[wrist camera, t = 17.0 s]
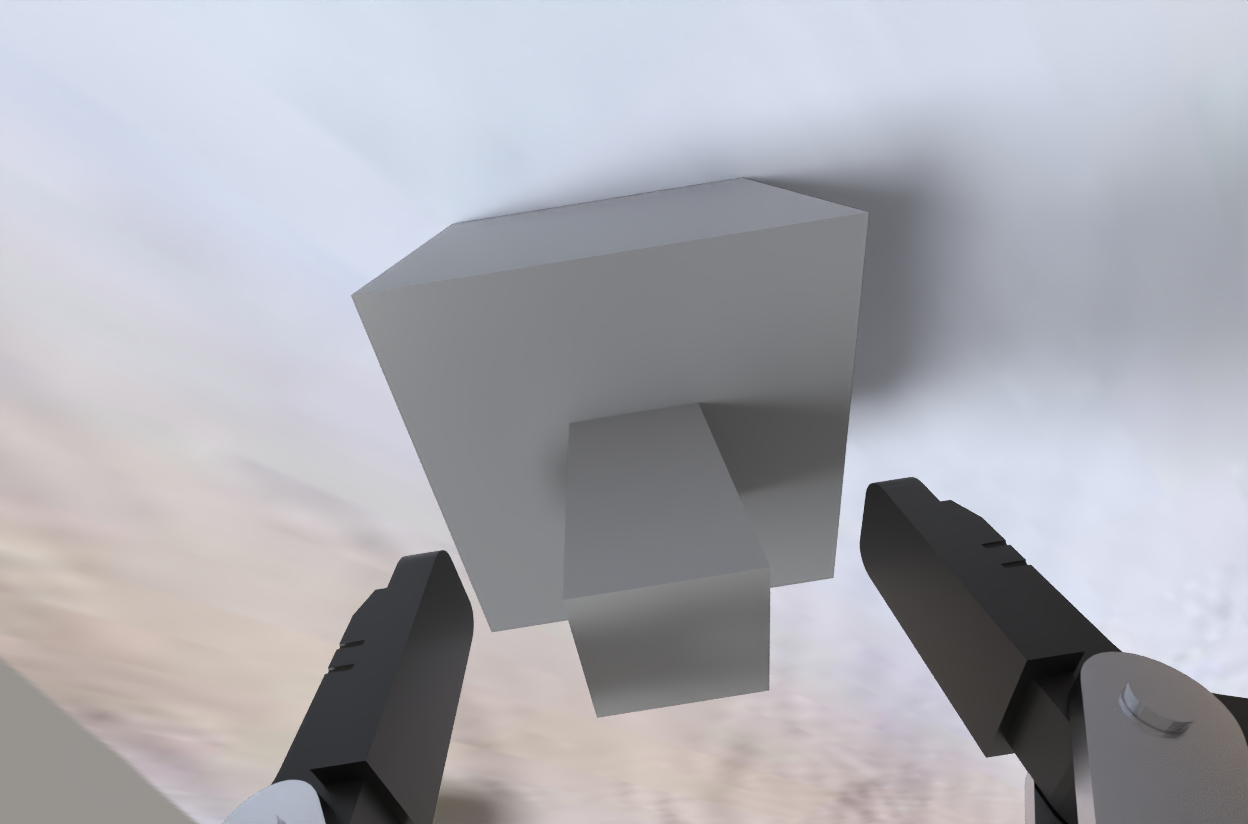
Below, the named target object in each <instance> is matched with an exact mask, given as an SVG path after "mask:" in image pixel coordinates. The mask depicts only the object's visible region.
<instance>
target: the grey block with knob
mask: <svg viewBox="0 0 1248 824" xmlns="http://www.w3.org/2000/svg"><path fill="white" fill-rule="evenodd" d="M868 218H869V212H866V211H863V210H859V209H855V208H852V207H848V206H844V205H841V204H837V203H833V202H830V201H826V200H822V199H819V198H815V197H811V196H808V195H804V194H800V193H797V192H793V191H789V190H785V189H782V188H778V187H774V186H771V185H767V184H763V183H760V182H756V181H752V180H749V179H745V178H736V179H729V180H723V181H717V182H711V183H705V184H698V185H692V186H686V187H680V188H674V189H667V190H661V191H655V192H649V193H642V194H636V195H630V196H624V197H618V198H611V199H605V200H599V201H593V202H586V203H580V204H574V205H568V206H562V207H555V208H549V209H543V210H537V211H530V212H524V213H518V214H512V215H506V216H499V217H493V218H487V219H481V220H475V221H468V222H462V223H456V224H452V225H450V226H449V227H447V228H446V229H445V230H443V231H442V232H440V233H439V234H437V235H436V236H435V237H433V238H432V239H430V240H429V241H427V242H426V243H425V244H423V245H422V246H420V247H419V248H418V249H416V250H415V251H413V252H412V253H410V254H409V255H408V256H406V257H405V258H403V259H402V260H401V261H399V262H398V263H396V264H395V265H393V266H392V267H391V268H389V269H388V270H386V271H385V272H384V273H382V274H381V275H379V276H378V277H376V278H375V279H374V280H372V281H371V282H369V283H368V284H367V285H365V286H364V287H362V288H361V289H359V290H358V291H357V292H355V293H354V294H352V295H351V297H352V299H353V301H354V304H355V306H356V309H357V311H358V313H359V316H360V318H361V320H362V323H363V325H364V328H365V330H366V332H367V335H368V337H369V340H370V342H371V344H372V347H373V349H374V352H375V354H376V356H377V359H378V361H379V364H380V366H381V368H382V371H383V373H384V375H385V378H386V380H387V383H388V385H389V387H390V390H391V392H392V395H393V397H394V399H395V402H396V404H397V407H398V409H399V411H400V414H401V416H402V419H403V421H404V423H405V426H406V428H407V430H408V433H409V435H410V438H411V440H412V442H413V445H414V447H415V450H416V452H417V454H418V457H419V459H420V462H421V464H422V466H423V469H424V471H425V474H426V476H427V478H428V481H429V483H430V485H431V488H432V490H433V493H434V495H435V497H436V500H437V502H438V505H439V507H440V509H441V512H442V514H443V517H444V519H445V521H446V524H447V526H448V529H449V531H450V533H451V536H452V538H453V540H454V543H455V545H456V548H457V550H458V552H459V555H460V557H461V560H462V562H463V564H464V567H465V569H466V572H467V574H468V576H469V579H470V581H471V584H472V586H473V588H474V591H475V593H476V596H477V598H478V600H479V603H480V605H481V607H482V610H483V612H484V615H485V617H486V619H487V622H488V624H489V627H490V629H491V631H492V632H497V631H503V630H509V629H515V628H522V627H528V626H534V625H540V624H547V623H553V622H559V621H566V620H568V621H569V624H570V627H571V631H572V634H573V638H574V641H575V644H576V648H577V651H578V654H579V658H580V661H581V665H582V668H583V671H584V675H585V678H586V682H587V685H588V688H589V692H590V695H591V699H592V702H593V705H594V709H595V712H596V715H597V718H598V717H604V716H611V715H617V714H623V713H630V712H636V711H642V710H648V709H655V708H661V707H667V706H674V705H680V704H686V703H692V702H699V701H705V700H711V699H718V698H724V697H730V696H737V695H743V694H749V693H755V692H762V691H768V690H769V655H770V588H773V587H779V586H785V585H791V584H798V583H804V582H810V581H817V580H823V579H829V578H833V577H834V566H835V556H836V546H837V536H838V525H839V515H840V505H841V495H842V484H843V474H844V464H845V453H846V443H847V433H848V423H849V412H850V402H851V392H852V382H853V371H854V361H855V351H856V341H857V330H858V320H859V310H860V300H861V289H862V279H863V269H864V259H865V248H866V238H867V228H868Z"/></svg>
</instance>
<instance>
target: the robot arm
mask: <svg viewBox="0 0 1248 824" xmlns="http://www.w3.org/2000/svg"><path fill="white" fill-rule="evenodd" d="M1005 541H1006V540H1005V539H1004V538H1003V537H1002V536H1001V535H1000V534H999V533H997V532H996V531H995V530H994V529H993V528H992V527H991V526H990V525H989V524H988V523H987V522H986V521H985V520H984V519H983V518H982V517H980V516H978V515H977V514H975V513H973V512H971V511H969V510H968V509H966V508H964V507H962V506H960V505H959V504H957V503H955V502H953V501H952V500H947V501H941V502H940V501H939V500H938V499H937V498H936V497H935V496H934V495H933V494H932V492H931V491H930V490H929V489H928V488H927V487H926V486H925V485H924V484H923V483H922V482H921V481H920V480H918V479H917V478H914V477H908V478H902V479H895V480H889V481H883V482H877V483H871V484H870V485H869V486H868V488H867V491H866V497H865V505H864V513H863V521H862V529H861V537H860V552H861V557H862V561H863V564H864V566H865V569H866V571H867V573H868V575H869V577H870V578H871V580H872V581H873V583H874V585H875V586H876V588H877V589H878V591H879V592H880V594H881V595H882V597H883V598H884V600H885V602H886V603H887V605H888V606H889V608H890V609H891V611H892V612H893V614H894V616H895V617H896V619H897V620H898V622H899V623H900V625H901V626H902V628H903V629H904V631H905V633H906V634H907V636H908V637H909V639H910V640H911V642H912V643H913V645H914V647H915V648H916V650H917V651H918V653H919V654H920V656H921V657H922V659H923V661H924V662H925V664H926V665H927V667H928V668H929V670H930V671H931V673H932V674H933V676H934V678H935V679H936V681H937V682H938V684H939V685H940V687H941V688H942V690H943V692H944V693H945V695H946V696H947V698H948V699H949V701H950V702H951V704H952V705H953V707H954V709H955V710H956V712H957V713H958V715H959V716H960V718H961V719H962V721H963V723H964V724H965V726H966V727H967V729H968V730H969V732H970V733H971V735H972V736H973V738H974V740H975V741H976V743H977V744H978V746H979V747H980V749H981V750H982V752H983V754H984V755H985V757H993V756H999V755H1006V754H1012V753H1015V754H1016V755H1017V757H1018V758H1019V760H1020V761H1021V763H1022V764H1023V765H1024V767H1025V768H1026V770H1027V771H1028V773H1027V775H1026V778H1025V824H1248V698H1241V697H1234V696H1227V695H1220V694H1215V693H1211V692H1209V691H1208V690H1207V689H1206V688H1204V687H1203V686H1202V685H1200V684H1199V683H1198V682H1196V681H1195V680H1193V679H1191V678H1190V677H1188V676H1187V675H1185V674H1183V673H1181V672H1180V671H1178V670H1176V669H1174V668H1172V667H1170V666H1168V665H1166V664H1163V663H1161V662H1159V661H1156V660H1153V659H1150V658H1147V657H1144V656H1140V655H1136V654H1132V653H1125V652H1122V651H1121V650H1119V649H1118V648H1117V647H1116V646H1115V645H1114V644H1113V643H1111V642H1110V641H1109V640H1108V639H1107V638H1106V637H1105V636H1104V635H1103V634H1102V633H1101V632H1100V631H1099V630H1098V629H1097V628H1096V627H1095V626H1094V625H1093V624H1092V623H1091V622H1090V621H1089V620H1088V619H1087V618H1086V617H1084V616H1083V615H1082V614H1081V613H1080V612H1079V611H1078V610H1077V609H1076V608H1075V607H1074V606H1073V605H1072V604H1071V603H1070V602H1069V601H1068V600H1067V599H1066V598H1065V597H1064V596H1063V595H1062V594H1061V593H1060V592H1059V591H1058V590H1057V589H1055V588H1054V587H1053V586H1052V585H1051V584H1050V583H1049V582H1048V581H1047V580H1046V579H1045V578H1044V577H1043V576H1042V575H1041V574H1040V573H1039V572H1038V571H1037V570H1036V569H1035V568H1034V567H1033V566H1032V565H1027V563H1026V560H1025V559H1024V558H1023V557H1022V556H1021V555H1020V554H1019V553H1018V552H1017V551H1016V550H1015V549H1014V548H1013V547H1012V546H1011V545H1007V544H1006V542H1005ZM473 628H474V621H473V611H472V607H471V603H470V601H469V598H468V596H467V594H466V592H465V589H464V587H463V585H462V582H461V580H460V578H459V576H458V573H457V571H456V569H455V566H454V564H453V562H452V560H451V557H450V556H449V554H448V553H447V552H446V551H444V550H441V551H435V552H429V553H422V554H416V555H410V556H404V557H402V558H401V559H400V560H399V562H398V564H397V566H396V568H395V571H394V573H393V575H392V578H391V580H390V582H389V585H388V587H387V588H384V589H378V590H375V591H374V592H373V593H372V594H371V595H370V597H369V598H368V599H367V600H366V601H365V602H364V603H363V605H362V606H361V607H360V608H359V609H358V610H357V611H356V613H355V614H354V615H353V616H352V619H351V621H350V623H349V625H348V627H347V629H346V631H345V633H344V635H343V638H342V640H341V642H340V649H337V650H336V652H335V654H334V657H333V659H332V661H331V663H330V665H329V667H328V669H329V672H328V674H325V676H324V678H323V680H322V682H321V684H320V686H319V688H318V690H317V692H316V694H315V697H314V699H313V701H312V703H311V705H310V707H309V709H308V711H307V713H306V716H305V718H304V720H303V722H302V724H301V726H300V728H299V730H298V732H297V735H296V737H295V739H294V741H293V743H292V745H291V747H290V749H289V751H288V754H287V756H286V758H285V760H284V762H283V764H282V766H281V768H280V770H279V772H278V774H277V776H276V778H275V780H274V781H273V783H272V784H271V785H270V786H268V787H266V788H264V789H262V790H260V791H259V792H257V793H256V794H254V795H253V796H251V797H250V798H249V799H247V800H246V801H245V802H244V803H242V804H241V805H240V806H239V807H238V808H237V809H236V810H235V811H234V812H232V813H231V814H230V815H229V816H228V818H227V819H226V820H225V821H224V822H223V823H222V824H432V822H433V817H434V812H435V808H436V803H437V799H438V794H439V789H440V785H441V780H442V776H443V771H444V766H445V762H446V757H447V753H448V748H449V743H450V739H451V734H452V730H453V725H454V720H455V716H456V711H457V707H458V702H459V697H460V693H461V688H462V684H463V679H464V674H465V670H466V665H467V660H468V656H469V651H470V647H471V642H472V637H473Z"/></svg>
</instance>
